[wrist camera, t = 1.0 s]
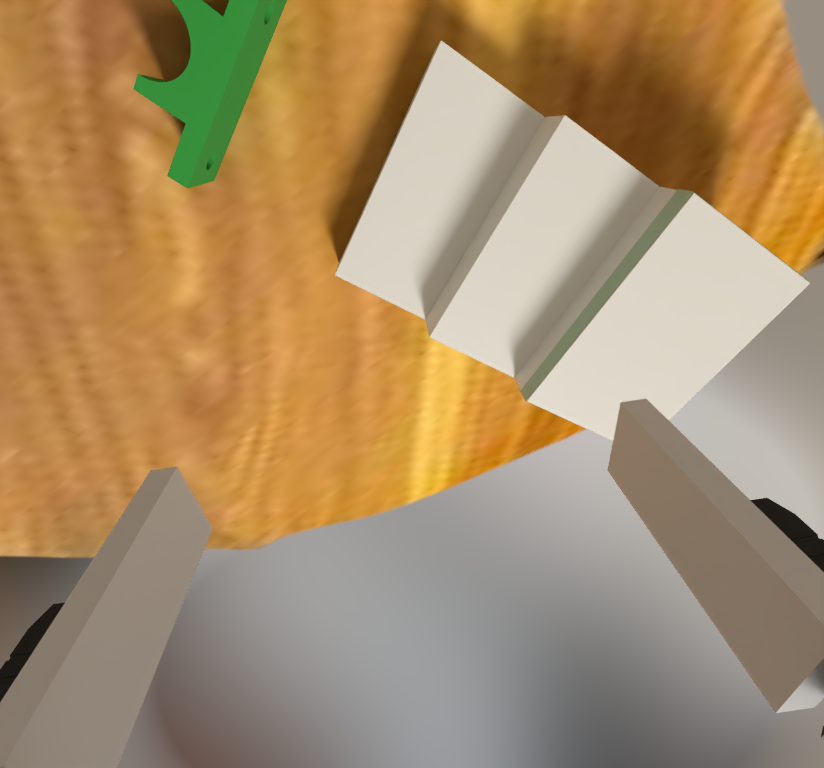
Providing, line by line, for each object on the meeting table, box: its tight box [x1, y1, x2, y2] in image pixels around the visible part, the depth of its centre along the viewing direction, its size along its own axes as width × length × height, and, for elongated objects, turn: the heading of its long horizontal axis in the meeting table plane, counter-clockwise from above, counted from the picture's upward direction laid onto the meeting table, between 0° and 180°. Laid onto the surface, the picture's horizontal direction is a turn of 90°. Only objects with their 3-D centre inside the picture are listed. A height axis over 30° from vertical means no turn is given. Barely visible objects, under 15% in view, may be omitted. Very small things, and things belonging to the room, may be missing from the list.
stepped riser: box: [335, 41, 810, 441], centre depth 27 cm, size 24×14×9 cm, turn 61°
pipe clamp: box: [134, 0, 287, 188], centre depth 22 cm, size 11×4×5 cm, turn 146°
